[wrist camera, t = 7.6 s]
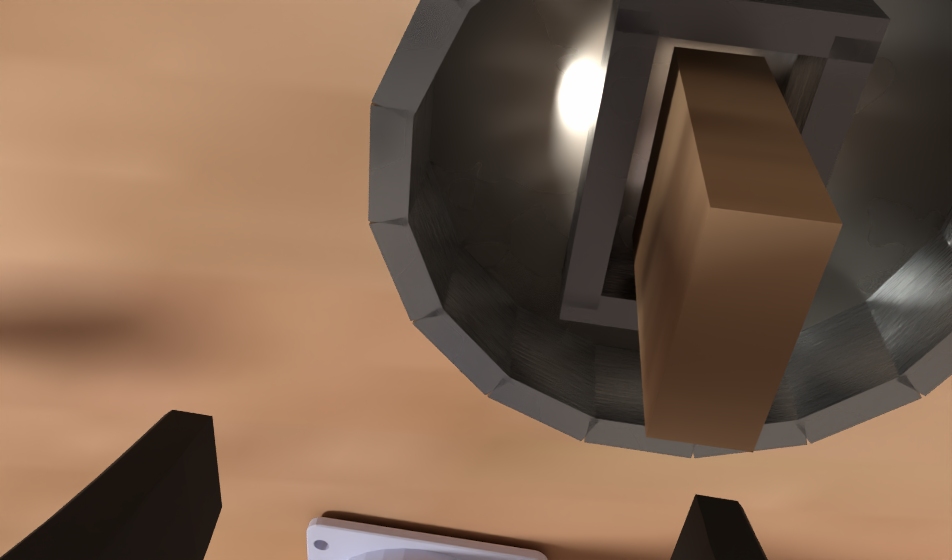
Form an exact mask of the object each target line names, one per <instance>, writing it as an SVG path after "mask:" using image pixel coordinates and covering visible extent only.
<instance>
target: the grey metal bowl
mask: <svg viewBox="0 0 952 560" xmlns="http://www.w3.org/2000/svg"><path fill="white" fill-rule="evenodd" d="M674 46H675V47H684V48H692V49H700V50H709V51H717V52H726V53H734V54H743V55H751V56H760V57H765V59H766V62H767V64H768V66H769V68H770V70H771V72H772V74H773V77H774V79H775V81H776V83H777V85H778V87H779V89H780V92H781V94H782V96H783V98H784V100H785V102H786V104H787V106H788V109H789V111H790V113H791V115H792V117H793V119H794V121H795V124H796V126H797V128H798V130H799V132H800V134H801V136H802V139H803V141H804V143H805V145H806V147H807V149H808V151H809V153H810V156H811V158H812V160H813V162H814V164H815V166H816V168H817V171H818V173H819V175H820V177H821V179H822V181H823V183H824V186H825V188H826V190H827V192H828V194H829V196H830V198H831V200H832V203H833V205H834V207H835V209H836V211H837V213H838V215H839V218H840V220H841V222H842V224H843V225H842V227H841V230H840V232H839V235H838V237H837V240H836V242H835V245H834V247H833V250H832V253H831V255H830V258H829V260H828V263H827V265H826V268H825V270H824V273H823V276H822V278H821V281H820V283H819V286H818V288H817V291H816V293H815V296H814V298H813V301H812V304H811V306H810V309H809V311H808V314H807V316H806V319H805V321H804V324H803V326H802V329H801V332H800V334H799V337H798V339H797V342H796V344H795V347H794V349H793V352H792V354H791V357H790V360H789V362H788V365H787V367H786V370H785V372H784V375H783V377H782V380H781V382H780V385H779V388H778V390H777V393H776V395H775V398H774V400H773V403H772V405H771V408H770V410H769V413H768V416H767V418H766V421H765V423H764V426H763V428H762V431H761V433H760V436H759V438H758V441H757V444H756V446H755V449H754V451H758V450H766V449H775V448H783V447H791V446H799V445H807V439H808V440H809V442H810V443H814V442H816V441H818V440H821V439H823V438H826V437H828V436H831V435H833V434H835V433H838V432H840V431H843V430H845V429H848V428H850V427H853V426H855V425H857V424H860V423H862V422H865V421H867V420H870V419H872V418H874V417H877V416H879V415H882V414H884V413H887V412H889V411H891V410H894V409H896V408H899V407H901V406H904V405H906V404H908V403H911V402H913V401H916V400H918V399H921V398H922V397H921V395H920V393H921V394H923V395H925V396H926V395H927V394H928V393H930V392H931V391H932V390H933V389H935V388H936V387H937V386H938V385H939V384H941V383H942V382H943V381H944V380H946V379H947V378H948V377H949V376H951V375H952V0H420V2H419V4H418V6H417V8H416V11H415V13H414V15H413V17H412V19H411V21H410V23H409V25H408V27H407V29H406V31H405V33H404V35H403V37H402V39H401V41H400V44H399V46H398V48H397V50H396V52H395V54H394V56H393V58H392V60H391V62H390V64H389V66H388V68H387V70H386V72H385V75H384V77H383V79H382V81H381V83H380V85H379V87H378V89H377V91H376V93H375V95H374V97H373V99H372V104H371V113H370V165H369V217H368V221H370V224H369V225H370V228H371V230H372V232H373V235H374V237H375V239H376V242H377V244H378V246H379V249H380V251H381V253H382V256H383V258H384V260H385V262H386V265H387V267H388V269H389V272H390V274H391V276H392V279H393V281H394V283H395V286H396V288H397V290H398V293H399V295H400V297H401V300H402V302H403V304H404V307H405V309H406V311H407V314H408V316H409V318H410V321H412V320H414V321H413V325H415V326H416V327H417V328H418V329H419V330H420V331H421V332H422V333H423V334H424V335H425V336H426V337H427V338H428V339H429V340H430V341H431V342H432V343H433V344H434V345H435V346H436V347H437V348H438V349H439V350H440V351H441V352H442V353H443V354H444V355H445V356H446V357H447V358H448V359H449V360H450V361H451V362H452V363H453V364H454V365H455V366H456V367H457V368H458V369H459V370H460V371H461V372H462V373H463V374H464V375H465V376H466V377H467V378H468V379H469V380H470V381H471V382H472V383H473V384H474V385H475V386H476V387H477V388H479V389H480V390H481V391H482V392H483V393H484V394H485V395H486V394H488V397H489V398H491V399H493V400H495V401H498V402H500V403H502V404H504V405H506V406H508V407H510V408H512V409H514V410H517V411H519V412H521V413H523V414H525V415H527V416H529V417H531V418H533V419H536V420H538V421H540V422H542V423H544V424H546V425H548V426H550V427H552V428H555V429H557V430H559V431H561V432H563V433H565V434H567V435H569V436H571V437H574V438H576V439H578V440H580V441H582V440H583V438H584V437H585V440H584V442H587V443H594V444H600V445H607V446H614V447H620V448H627V449H633V450H640V451H647V452H653V453H660V454H667V455H673V456H680V457H686V458H691V456H692V453H693V454H694V458H700V457H709V456H717V455H725V454H733V453H742V452H747V451H740V450H733V449H726V448H719V447H712V446H705V445H698V444H691V443H684V442H677V441H670V440H663V439H656V438H649V437H646V433H645V418H644V404H643V389H642V374H641V359H640V344H639V329H638V315H637V300H636V285H635V270H634V255H633V241H632V233H633V229H634V224H635V220H636V215H637V211H638V207H639V202H640V198H641V193H642V189H643V184H644V180H645V175H646V171H647V166H648V162H649V157H650V153H651V148H652V144H653V139H654V135H655V130H656V126H657V121H658V117H659V112H660V108H661V103H662V99H663V94H664V90H665V85H666V81H667V76H668V72H669V68H670V63H671V59H672V54H673V50H674ZM806 438H807V439H806Z"/></svg>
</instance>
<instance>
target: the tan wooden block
mask: <svg viewBox="0 0 952 560" xmlns="http://www.w3.org/2000/svg"><path fill="white" fill-rule="evenodd" d="M842 225H843V224H842V222H841V220H840V218H839V215H838V213H837V211H836V209H835V207H834V205H833V203H832V200H831V198H830V196H829V194H828V192H827V190H826V188H825V186H824V183H823V181H822V179H821V177H820V175H819V173H818V171H817V168H816V166H815V164H814V162H813V160H812V158H811V156H810V153H809V151H808V149H807V147H806V145H805V143H804V141H803V139H802V136H801V134H800V132H799V130H798V128H797V126H796V124H795V121H794V119H793V117H792V115H791V113H790V111H789V109H788V106H787V104H786V102H785V100H784V98H783V96H782V94H781V92H780V89H779V87H778V85H777V83H776V81H775V79H774V77H773V74H772V72H771V70H770V68H769V66H768V64H767V62H766V59H765V57H760V56H751V55H743V54H734V53H726V52H717V51H709V50H700V49H692V48H684V47H675V46H674V50H673V54H672V59H671V63H670V68H669V72H668V76H667V81H666V85H665V90H664V94H663V99H662V103H661V108H660V112H659V117H658V121H657V126H656V130H655V135H654V139H653V144H652V148H651V153H650V157H649V162H648V166H647V171H646V175H645V180H644V184H643V189H642V193H641V198H640V202H639V207H638V211H637V215H636V220H635V224H634V229H633V233H632V241H633V255H634V270H635V285H636V300H637V315H638V329H639V344H640V359H641V374H642V389H643V404H644V418H645V433H646V437H649V438H656V439H663V440H670V441H677V442H684V443H691V444H698V445H705V446H712V447H719V448H726V449H733V450H740V451H747V452H753V451H754V449H755V446H756V444H757V441H758V438H759V436H760V433H761V431H762V428H763V426H764V423H765V421H766V418H767V416H768V413H769V410H770V408H771V405H772V403H773V400H774V398H775V395H776V393H777V390H778V388H779V385H780V382H781V380H782V377H783V375H784V372H785V370H786V367H787V365H788V362H789V360H790V357H791V354H792V352H793V349H794V347H795V344H796V342H797V339H798V337H799V334H800V332H801V329H802V326H803V324H804V321H805V319H806V316H807V314H808V311H809V309H810V306H811V304H812V301H813V298H814V296H815V293H816V291H817V288H818V286H819V283H820V281H821V278H822V276H823V273H824V270H825V268H826V265H827V263H828V260H829V258H830V255H831V253H832V250H833V247H834V245H835V242H836V240H837V237H838V235H839V232H840V230H841V227H842Z"/></svg>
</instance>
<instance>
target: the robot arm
mask: <svg viewBox="0 0 952 560" xmlns="http://www.w3.org/2000/svg"><path fill="white" fill-rule="evenodd" d="M221 508H222V502H221V492H220V483H219V474H218V465H217V455H216V446H215V437H214V427H213V418H212V416H208V415H202V414H196V413H190V412H183V411H177V410H171V411H170V412H168V413H167V414H165V415H164V416H163V417H162V418H161V419H160V420H159V421H158V422H157V423H156V424H155V425H154V426H153V427H152V428H150V429H149V430H148V431H147V432H146V433H145V434H144V435H143V436H142V437H141V438H140V439H139V440H138V441H136V442H135V443H134V444H133V445H132V446H131V447H130V448H129V449H128V450H127V451H126V452H125V453H123V454H122V455H121V456H120V457H119V458H118V459H117V460H116V461H115V462H114V463H112V464H111V465H110V466H109V467H108V468H107V469H106V470H105V471H104V472H102V473H101V474H100V475H99V476H98V477H97V478H96V479H95V480H94V481H92V482H91V483H90V484H89V485H88V486H87V487H85V488H84V489H83V490H82V491H81V492H80V493H78V494H77V495H76V496H75V497H74V498H73V499H71V500H70V501H69V502H68V503H67V504H66V505H65V506H63V507H62V508H61V509H60V510H59V511H58V512H56V513H55V514H54V515H53V516H52V517H50V518H49V519H48V520H47V521H46V522H44V523H43V524H42V525H41V526H39V527H38V528H37V529H36V530H34V531H33V532H32V533H31V534H29V535H28V536H27V537H26V538H24V539H23V540H22V541H21V542H19V543H18V544H17V545H15V546H14V547H13V548H12V549H10V550H9V551H8V552H7V553H5V554H4V555H3V556H2V557H0V560H203V559H204V556H205V554H206V551H207V548H208V546H209V543H210V540H211V537H212V534H213V531H214V529H215V526H216V523H217V520H218V517H219V514H220V511H221ZM307 553H308V560H547V557H546V556H545V555H544V554H542V553H541V552H539V551H536V550H530V549H524V548H518V547H511V546H505V545H499V544H492V543H486V542H479V541H473V540H467V539H460V538H454V537H448V536H441V535H435V534H428V533H422V532H416V531H409V530H403V529H397V528H390V527H384V526H377V525H371V524H365V523H358V522H352V521H346V520H339V519H333V518H326V517H317V518H314V519H312V520H311V521H310V523H309V526H308V529H307ZM670 560H768V559H767V557H766V555H765V553H764V551H763V549H762V547H761V545H760V543H759V541H758V539H757V537H756V535H755V533H754V531H753V529H752V527H751V525H750V522H749V520H748V518H747V516H746V514H745V512H744V510H743V508H742V506H741V505H740V504H739V502H738V501H734V500H727V499H721V498H715V497H709V496H703V495H697V494H696V495H695V497H694V500H693V502H692V505H691V507H690V510H689V513H688V515H687V518H686V520H685V523H684V526H683V528H682V531H681V533H680V536H679V539H678V541H677V544H676V546H675V549H674V551H673V554H672V557H671V559H670Z"/></svg>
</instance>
